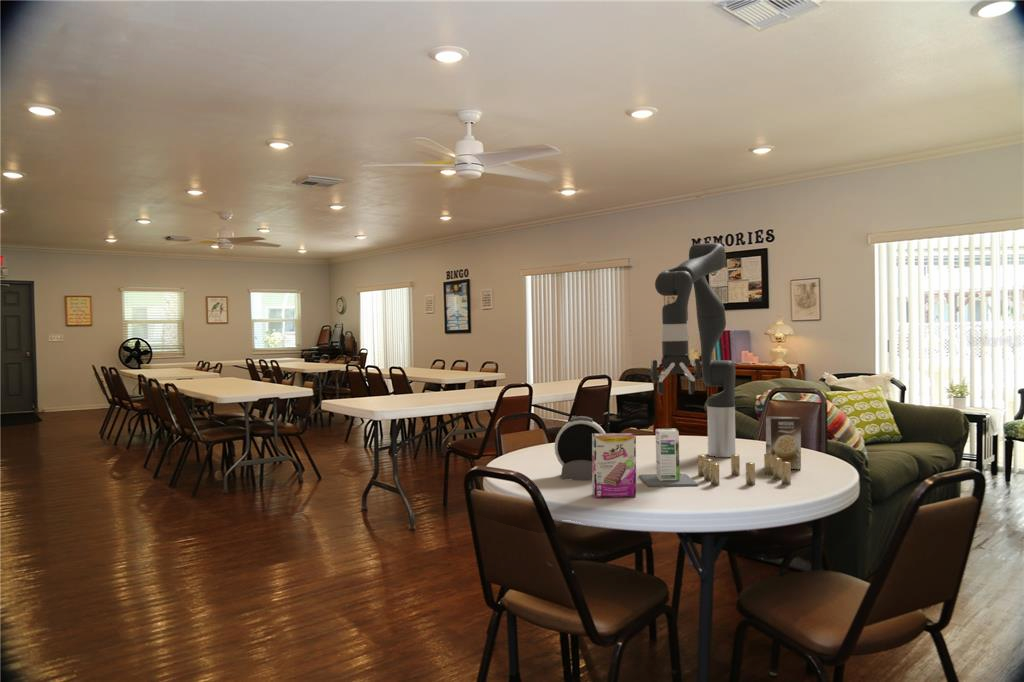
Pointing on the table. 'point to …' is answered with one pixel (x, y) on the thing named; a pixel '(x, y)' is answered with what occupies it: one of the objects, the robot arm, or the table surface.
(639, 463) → the table surface
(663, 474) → the syrup box
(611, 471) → the candy bar box
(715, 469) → the spacer field
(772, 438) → the coffee box
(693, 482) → the mat
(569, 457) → the alarm clock
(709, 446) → the robot arm
